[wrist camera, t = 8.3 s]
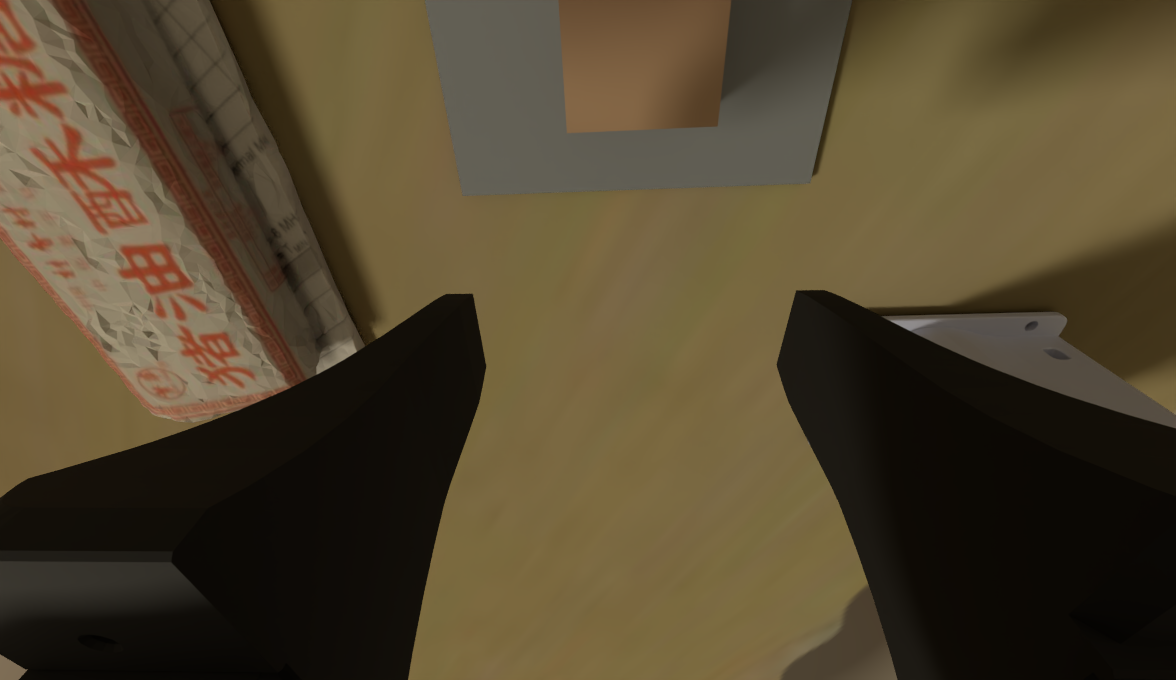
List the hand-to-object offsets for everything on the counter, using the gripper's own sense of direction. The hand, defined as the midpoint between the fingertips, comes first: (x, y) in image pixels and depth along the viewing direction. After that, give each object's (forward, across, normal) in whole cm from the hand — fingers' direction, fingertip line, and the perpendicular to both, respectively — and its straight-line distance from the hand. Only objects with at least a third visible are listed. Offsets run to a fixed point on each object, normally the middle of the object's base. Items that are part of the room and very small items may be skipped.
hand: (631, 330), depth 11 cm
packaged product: (+10, +17, 0) cm, 20 cm away
